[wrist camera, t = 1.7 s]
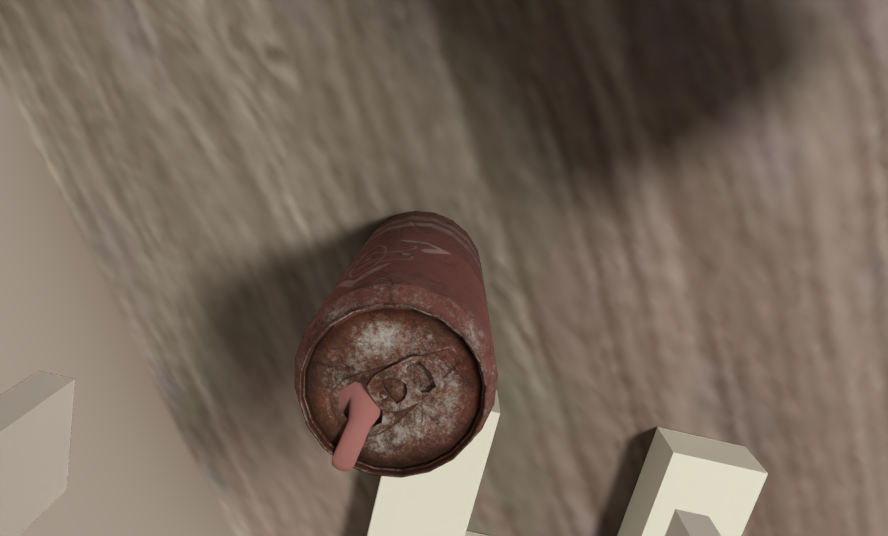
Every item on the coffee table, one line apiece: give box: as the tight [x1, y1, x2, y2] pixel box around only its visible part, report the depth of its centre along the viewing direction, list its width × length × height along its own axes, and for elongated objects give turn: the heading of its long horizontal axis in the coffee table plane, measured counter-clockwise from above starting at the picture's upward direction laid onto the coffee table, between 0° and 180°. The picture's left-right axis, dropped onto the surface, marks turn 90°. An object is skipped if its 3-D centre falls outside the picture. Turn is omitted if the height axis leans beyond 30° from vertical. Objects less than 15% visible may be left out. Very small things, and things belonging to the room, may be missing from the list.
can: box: [295, 211, 498, 478], centre depth 24 cm, size 6×6×14 cm
